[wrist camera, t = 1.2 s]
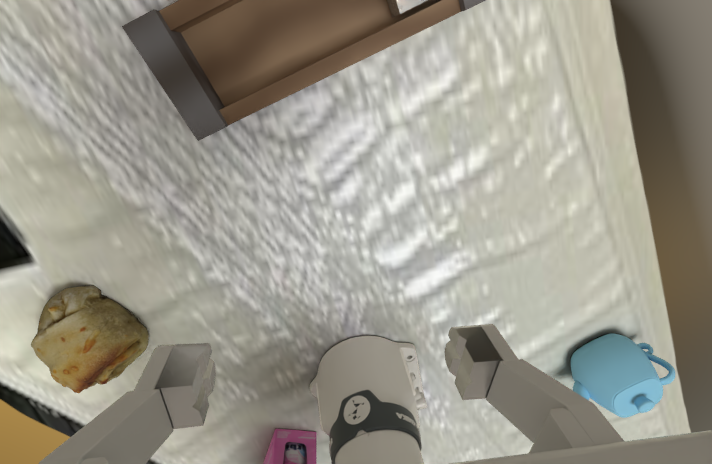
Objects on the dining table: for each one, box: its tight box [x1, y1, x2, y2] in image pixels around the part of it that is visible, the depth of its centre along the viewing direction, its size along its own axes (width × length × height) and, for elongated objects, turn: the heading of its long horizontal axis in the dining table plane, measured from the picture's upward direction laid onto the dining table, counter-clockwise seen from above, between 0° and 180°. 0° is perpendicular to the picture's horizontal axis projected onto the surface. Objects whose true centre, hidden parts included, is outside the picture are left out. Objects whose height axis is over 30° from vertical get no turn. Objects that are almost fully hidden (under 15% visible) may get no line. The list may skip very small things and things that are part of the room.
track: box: [122, 0, 485, 141], centre depth 30 cm, size 10×30×5 cm, turn 113°
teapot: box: [571, 333, 675, 417], centre depth 58 cm, size 13×11×18 cm
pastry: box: [31, 286, 148, 393], centre depth 42 cm, size 14×12×8 cm
